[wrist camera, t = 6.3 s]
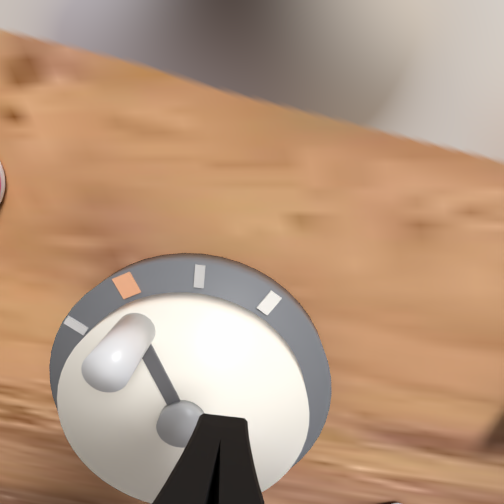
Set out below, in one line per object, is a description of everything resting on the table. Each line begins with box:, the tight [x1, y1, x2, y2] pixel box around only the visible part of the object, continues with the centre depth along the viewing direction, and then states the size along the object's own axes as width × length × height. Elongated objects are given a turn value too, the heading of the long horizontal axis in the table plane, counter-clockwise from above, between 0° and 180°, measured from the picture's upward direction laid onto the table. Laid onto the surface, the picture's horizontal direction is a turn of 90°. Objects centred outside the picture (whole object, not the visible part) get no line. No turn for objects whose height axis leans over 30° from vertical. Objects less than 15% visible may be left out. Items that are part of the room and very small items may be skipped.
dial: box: [57, 292, 309, 503], centre depth 15 cm, size 13×13×4 cm
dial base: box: [50, 253, 331, 467], centre depth 18 cm, size 16×16×2 cm
